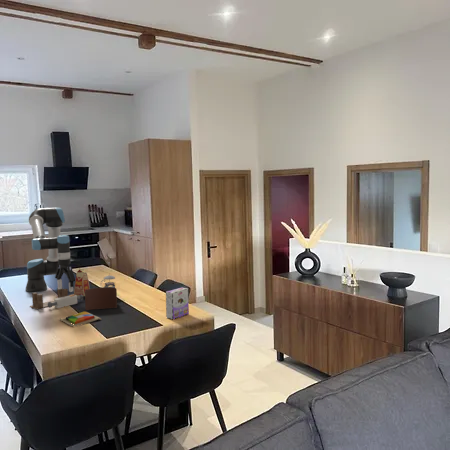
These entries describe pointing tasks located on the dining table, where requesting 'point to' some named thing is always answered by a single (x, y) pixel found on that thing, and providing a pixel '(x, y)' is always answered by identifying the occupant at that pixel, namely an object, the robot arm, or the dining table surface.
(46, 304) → the cradle rack
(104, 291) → the letter holder
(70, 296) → the white block with pegs
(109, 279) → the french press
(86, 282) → the milk carton
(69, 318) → the wooden puzzle
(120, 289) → the dining table surface
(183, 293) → the candy box
